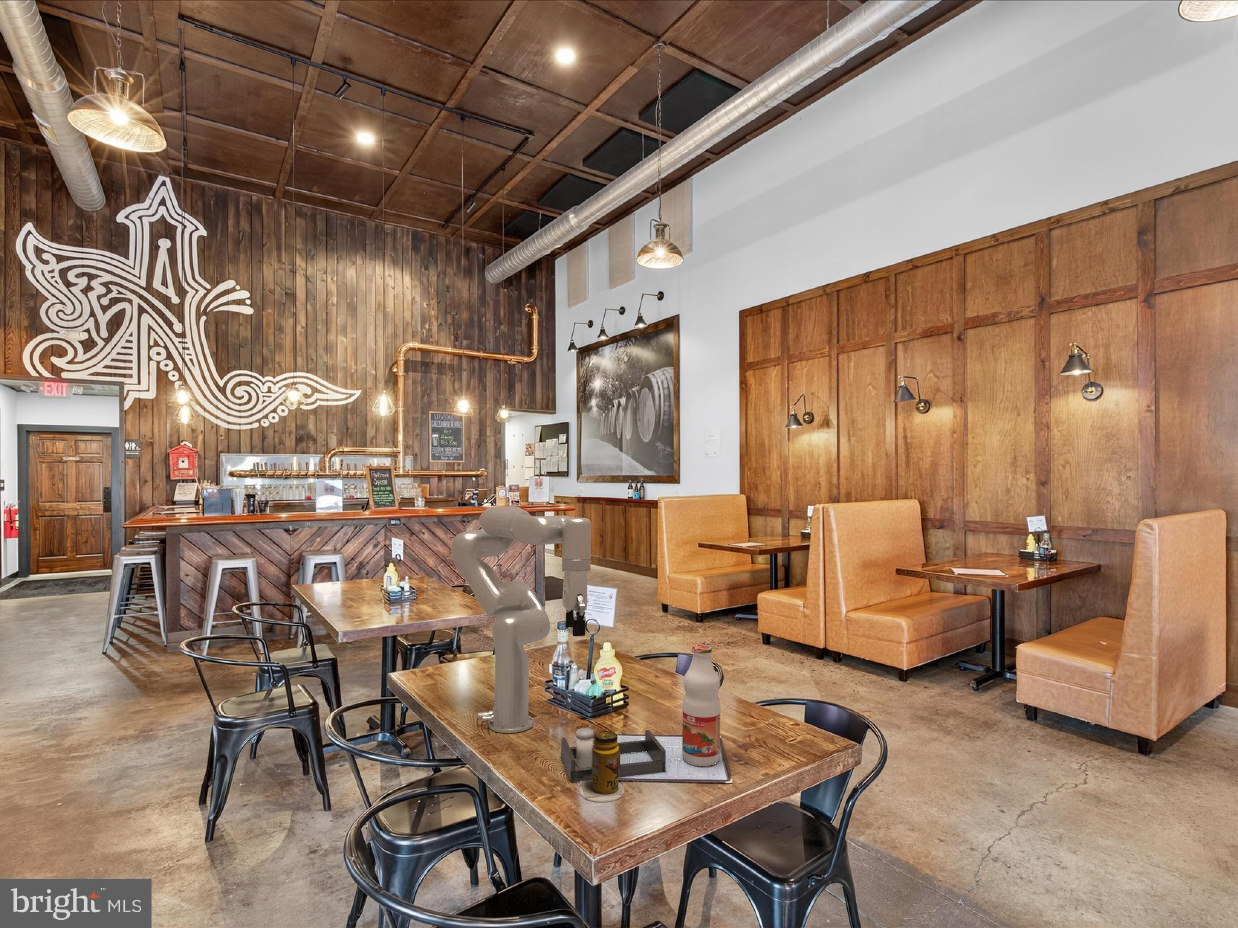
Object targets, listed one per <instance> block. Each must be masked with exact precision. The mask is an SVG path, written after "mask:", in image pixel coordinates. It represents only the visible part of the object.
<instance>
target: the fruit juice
mask: <svg viewBox="0 0 1238 928" xmlns="http://www.w3.org/2000/svg"><path fill="white" fill-rule="evenodd" d="M691 651H692V654H693V655H692V658H691V659H692V660H691V663H690V665H689V667H688V669H687V671H686V672H685V674H684V677H683V688H684V696H683V699H682V731H681V732H682V733H681V734H682V735H681V736H682V737H681V739H682V740H681V742H682V743H681V744H682V745H681V746H682V751H681V752H682V754H681V755H682V759H683V760H684V761H685V762H686V763H687V764H689V765H692V766H694V767H701V766H706V767H712V766H715V765H716V764H715V763H717V762H718V761H719V762H720V759H721V701H720V697H719V691H720V688H721V682H720V681H721V679H720V677H719V675H718V673H717V672H716V671H715V668H714V665H713V661H712V657H711V655H712V652H713V650H712V646H711V645H708V644H693V646H692V649H691ZM719 762H718V763H719ZM718 763H717V764H718ZM714 764H715V765H714ZM711 765H712V766H711Z"/></svg>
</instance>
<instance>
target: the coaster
mask: <svg viewBox="0 0 1238 928" xmlns="http://www.w3.org/2000/svg"><path fill="white" fill-rule="evenodd" d="M590 781H591V780H590ZM619 786H620V788H621V790H622V792H623V794H620V795H610V796H597V797H587V798H585V795H584V792H583V790H582V787H581V785H580V786H579V795H580V796H581V797H582V798H583V799H585V800H587V801H590V802H593V803H610V802H615V801H617V800H619V799H621V798H622V797H623V795H624V794H625V787H624V785H623V784H621V782H619ZM592 793H593V792H592Z"/></svg>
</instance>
